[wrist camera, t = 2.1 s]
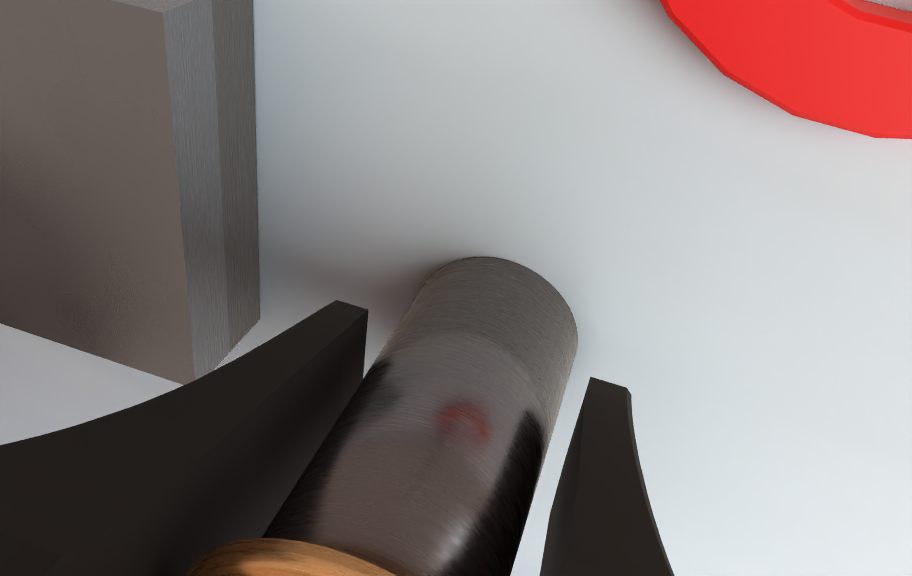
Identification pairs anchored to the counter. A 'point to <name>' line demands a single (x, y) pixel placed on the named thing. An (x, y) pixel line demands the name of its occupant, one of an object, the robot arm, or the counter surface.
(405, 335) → the pin
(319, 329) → the robot arm
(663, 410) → the counter surface
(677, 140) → the counter surface
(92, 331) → the slotted panel plate
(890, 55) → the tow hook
